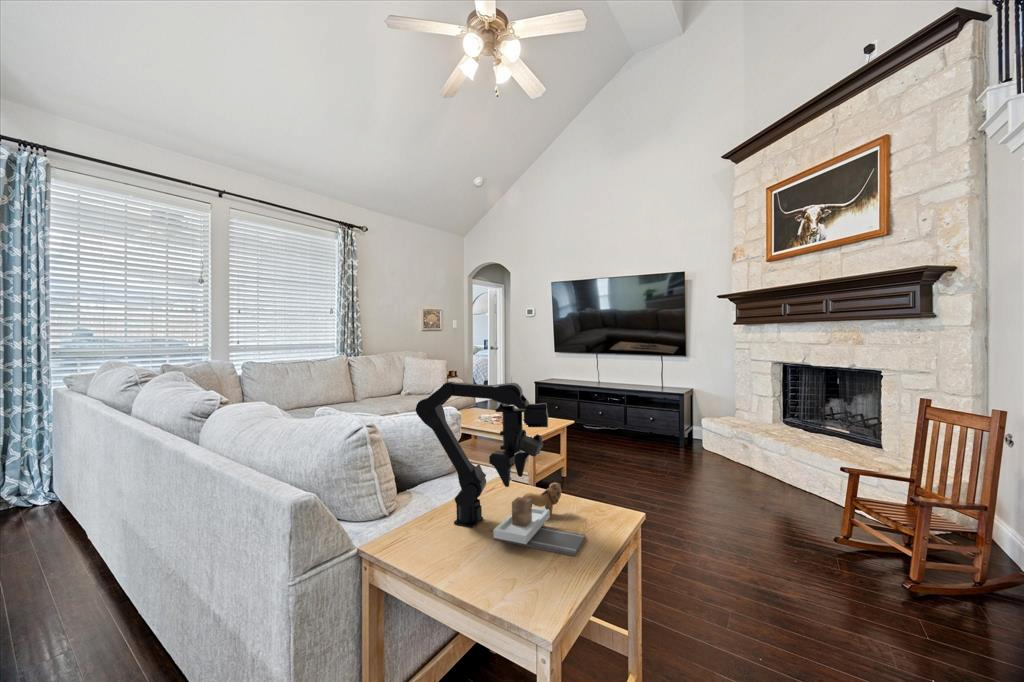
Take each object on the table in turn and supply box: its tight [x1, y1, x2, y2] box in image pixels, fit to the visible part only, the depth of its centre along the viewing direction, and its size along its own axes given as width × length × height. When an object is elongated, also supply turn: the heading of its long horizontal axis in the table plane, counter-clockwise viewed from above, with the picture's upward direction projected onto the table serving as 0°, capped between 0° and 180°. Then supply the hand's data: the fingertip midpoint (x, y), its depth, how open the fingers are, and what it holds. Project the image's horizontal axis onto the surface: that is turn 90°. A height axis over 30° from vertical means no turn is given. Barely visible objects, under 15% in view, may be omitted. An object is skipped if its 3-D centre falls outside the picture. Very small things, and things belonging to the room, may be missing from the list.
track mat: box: [493, 526, 587, 557], centre depth 108 cm, size 22×10×1 cm, turn 65°
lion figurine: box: [522, 482, 562, 517], centre depth 123 cm, size 15×5×9 cm, turn 107°
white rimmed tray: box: [493, 506, 551, 544], centre depth 110 cm, size 9×17×4 cm, turn 155°
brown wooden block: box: [511, 496, 533, 527], centre depth 110 cm, size 4×4×6 cm
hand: (513, 481), depth 118 cm, fingers open, 9 cm apart
